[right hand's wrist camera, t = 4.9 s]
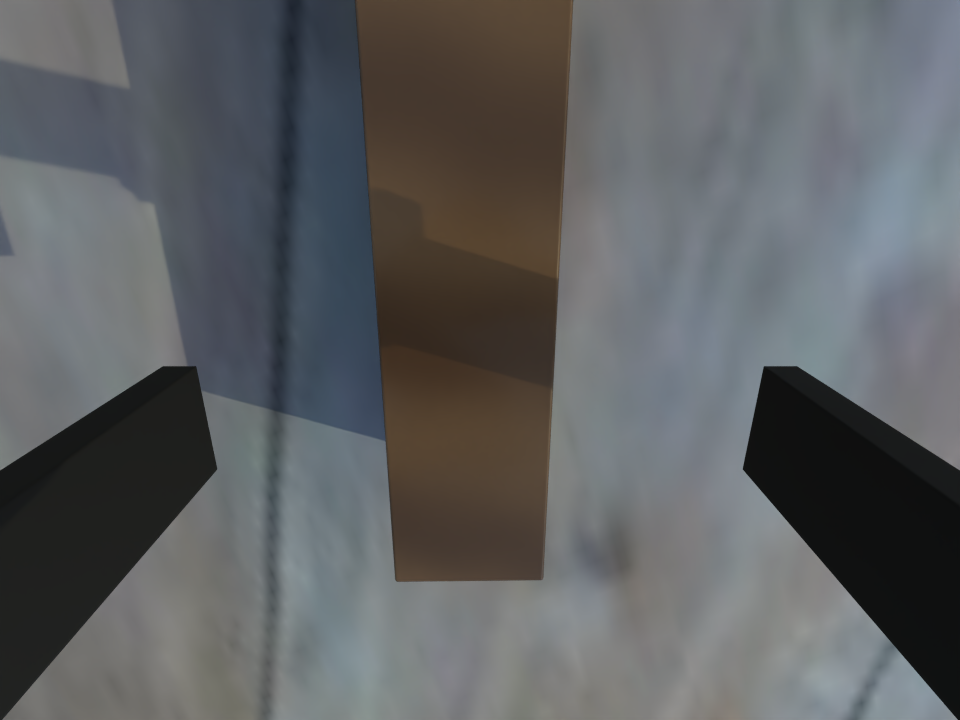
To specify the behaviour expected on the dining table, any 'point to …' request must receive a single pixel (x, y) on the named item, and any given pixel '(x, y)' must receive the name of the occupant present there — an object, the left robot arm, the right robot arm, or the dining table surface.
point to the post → (466, 271)
